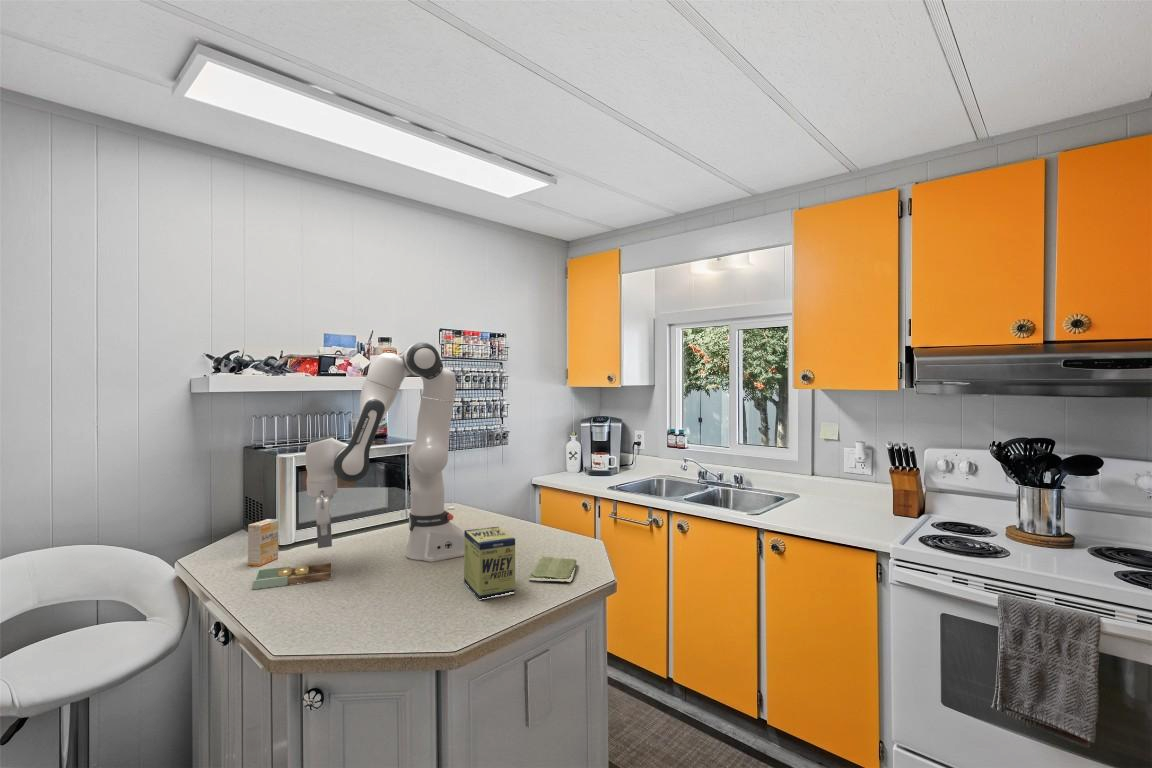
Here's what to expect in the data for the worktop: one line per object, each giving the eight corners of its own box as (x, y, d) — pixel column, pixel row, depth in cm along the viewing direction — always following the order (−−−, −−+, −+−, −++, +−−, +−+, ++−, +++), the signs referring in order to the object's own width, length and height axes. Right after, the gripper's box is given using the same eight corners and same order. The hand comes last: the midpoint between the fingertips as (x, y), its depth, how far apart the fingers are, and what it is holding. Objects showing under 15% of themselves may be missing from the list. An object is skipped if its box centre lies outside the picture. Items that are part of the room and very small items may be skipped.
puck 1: (291, 577, 165) (291, 567, 165) (291, 581, 162) (291, 571, 162) (278, 579, 164) (278, 569, 163) (277, 583, 160) (277, 572, 160)
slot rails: (331, 569, 172) (331, 562, 172) (331, 579, 163) (331, 572, 163) (289, 574, 168) (289, 567, 168) (287, 585, 158) (287, 578, 158)
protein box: (479, 601, 148) (479, 543, 148) (463, 582, 161) (463, 529, 161) (516, 594, 152) (516, 538, 152) (497, 577, 166) (497, 525, 166)
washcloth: (527, 583, 162) (527, 572, 162) (539, 564, 179) (539, 554, 179) (571, 586, 160) (571, 575, 160) (579, 566, 178) (579, 556, 178)
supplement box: (260, 566, 174) (260, 525, 174) (247, 565, 175) (247, 524, 175) (279, 558, 182) (279, 519, 182) (266, 557, 183) (266, 518, 183)
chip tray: (289, 574, 168) (289, 566, 168) (287, 585, 158) (287, 576, 158) (257, 578, 164) (257, 569, 164) (253, 589, 155) (253, 580, 155)
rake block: (331, 541, 178) (330, 514, 178) (331, 546, 173) (330, 517, 173) (318, 543, 177) (316, 515, 177) (317, 548, 172) (316, 519, 172)
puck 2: (308, 575, 167) (308, 565, 167) (308, 579, 164) (308, 569, 164) (295, 577, 165) (295, 567, 165) (294, 581, 162) (294, 570, 162)
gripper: (333, 493, 167) (335, 538, 167) (333, 482, 185) (335, 523, 186) (310, 496, 164) (312, 542, 164) (312, 484, 183) (314, 525, 183)
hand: (324, 531), depth 175 cm, fingers closed on rake block, 5 cm apart
